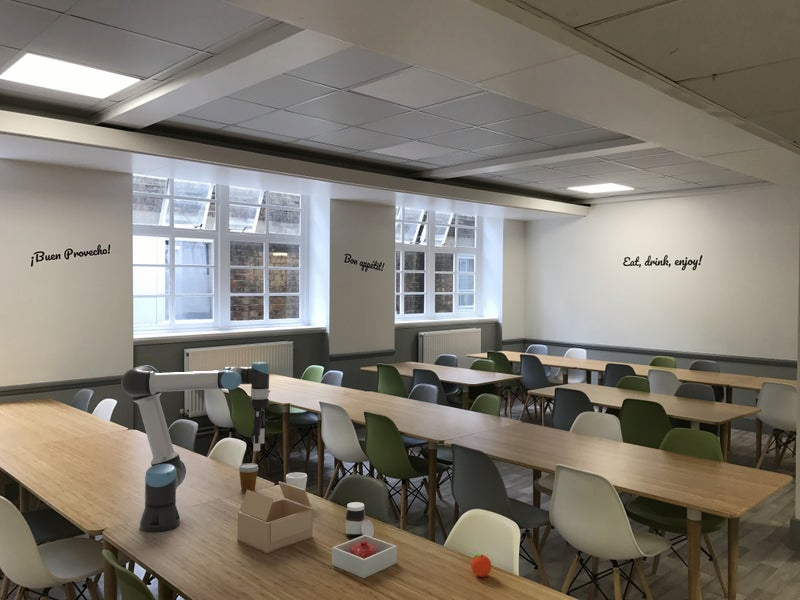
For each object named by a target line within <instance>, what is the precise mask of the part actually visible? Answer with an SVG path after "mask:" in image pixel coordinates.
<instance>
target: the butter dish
mask: <svg viewBox="0 0 800 600" xmlns="http://www.w3.org/2000/svg"><path fill="white" fill-rule="evenodd" d="M350 554H353V555H356V556H358V557H361V558H363V559H365V558H367V557H370V556H372V555H374V554H377V551H376V549H375V548H374V547H373V546H372V545H371V544H367V541H365V540H363V541H361V542H360V544H359V545H355V546H353V547H352V548H351V550H350Z"/></svg>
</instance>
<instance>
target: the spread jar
mask: <svg viewBox="0 0 800 600" xmlns="http://www.w3.org/2000/svg"><path fill="white" fill-rule="evenodd" d="M346 504H347V505H346V507H347V508H346V512H345V534H346V535H345V536H347V537H349V538H358V537H360V536H363V535H367V536H370V537H373V536H374V533H375V528H374V524H373V522H372V521H371V520H369V519H367V520H366V511H365V504H364V503H363V502H359V501H358V502H357V501H355V502H349V503H346ZM373 538H374V537H373Z"/></svg>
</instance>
